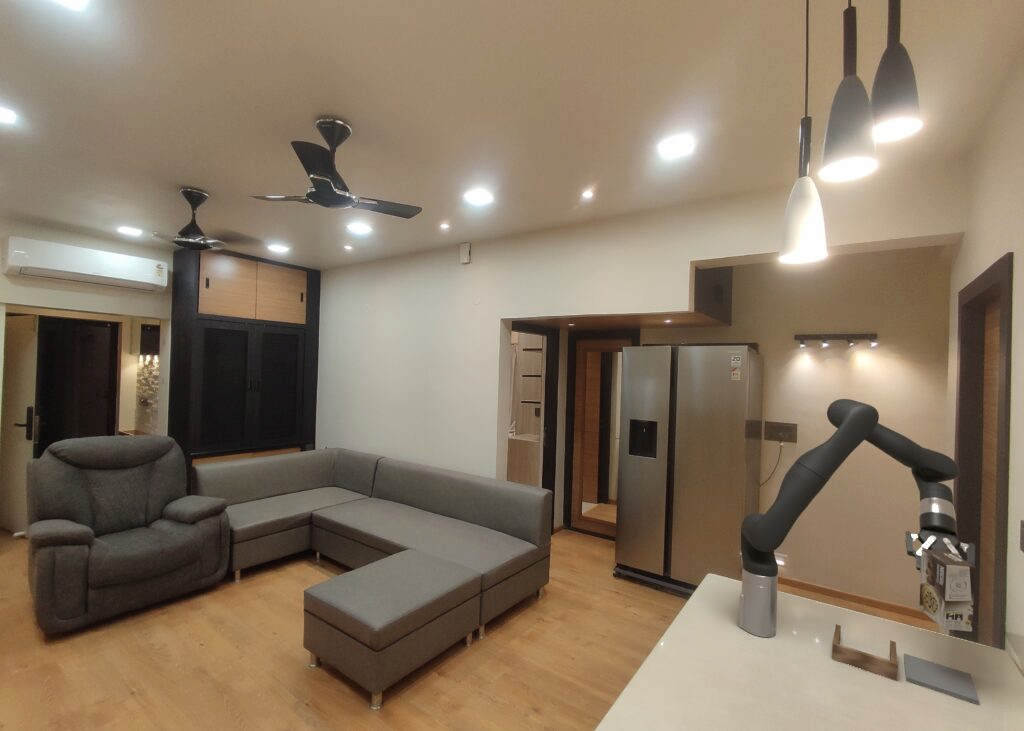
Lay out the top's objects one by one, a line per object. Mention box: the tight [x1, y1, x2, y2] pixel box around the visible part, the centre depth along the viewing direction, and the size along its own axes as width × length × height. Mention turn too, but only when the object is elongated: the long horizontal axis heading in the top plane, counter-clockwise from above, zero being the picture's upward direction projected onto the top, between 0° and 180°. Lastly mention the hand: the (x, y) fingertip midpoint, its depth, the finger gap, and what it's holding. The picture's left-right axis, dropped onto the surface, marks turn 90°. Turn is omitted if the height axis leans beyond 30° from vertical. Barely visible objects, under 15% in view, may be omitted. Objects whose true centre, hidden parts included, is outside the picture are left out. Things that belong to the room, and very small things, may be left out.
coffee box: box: [918, 549, 977, 632], centre depth 117 cm, size 9×6×16 cm
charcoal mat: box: [903, 653, 980, 706], centre depth 118 cm, size 13×13×1 cm
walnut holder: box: [831, 623, 898, 682], centre depth 126 cm, size 13×13×4 cm
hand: (940, 575), depth 120 cm, fingers closed on coffee box, 6 cm apart
